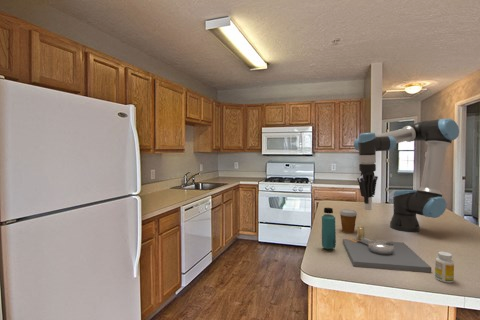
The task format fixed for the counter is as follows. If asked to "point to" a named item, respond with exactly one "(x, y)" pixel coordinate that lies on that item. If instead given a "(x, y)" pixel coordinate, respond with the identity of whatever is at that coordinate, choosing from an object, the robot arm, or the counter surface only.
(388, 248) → the metal ladle
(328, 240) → the beverage bottle
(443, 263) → the supplement bottle
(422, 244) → the counter surface
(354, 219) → the disposable coffee cup
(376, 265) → the stand
